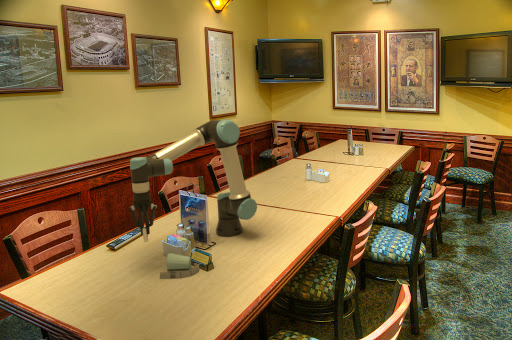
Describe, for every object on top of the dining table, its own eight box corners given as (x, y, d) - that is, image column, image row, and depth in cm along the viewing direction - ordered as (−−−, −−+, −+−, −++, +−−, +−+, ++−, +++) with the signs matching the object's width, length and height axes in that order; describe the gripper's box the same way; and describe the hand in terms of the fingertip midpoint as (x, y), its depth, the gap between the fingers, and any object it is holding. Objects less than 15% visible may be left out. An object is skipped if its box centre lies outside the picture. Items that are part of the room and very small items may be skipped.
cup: (187, 271, 202) (165, 270, 203) (191, 270, 210) (170, 269, 211) (188, 255, 204) (166, 253, 205) (192, 254, 211) (171, 253, 212)
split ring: (201, 263, 215) (201, 258, 215) (195, 277, 197) (195, 272, 197) (168, 264, 215) (168, 260, 215) (160, 278, 197) (159, 273, 197)
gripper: (157, 189, 205) (162, 238, 208) (129, 190, 205) (134, 239, 209) (153, 192, 198) (158, 243, 201) (124, 193, 198) (129, 244, 201)
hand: (146, 241), depth 205 cm, fingers closed
